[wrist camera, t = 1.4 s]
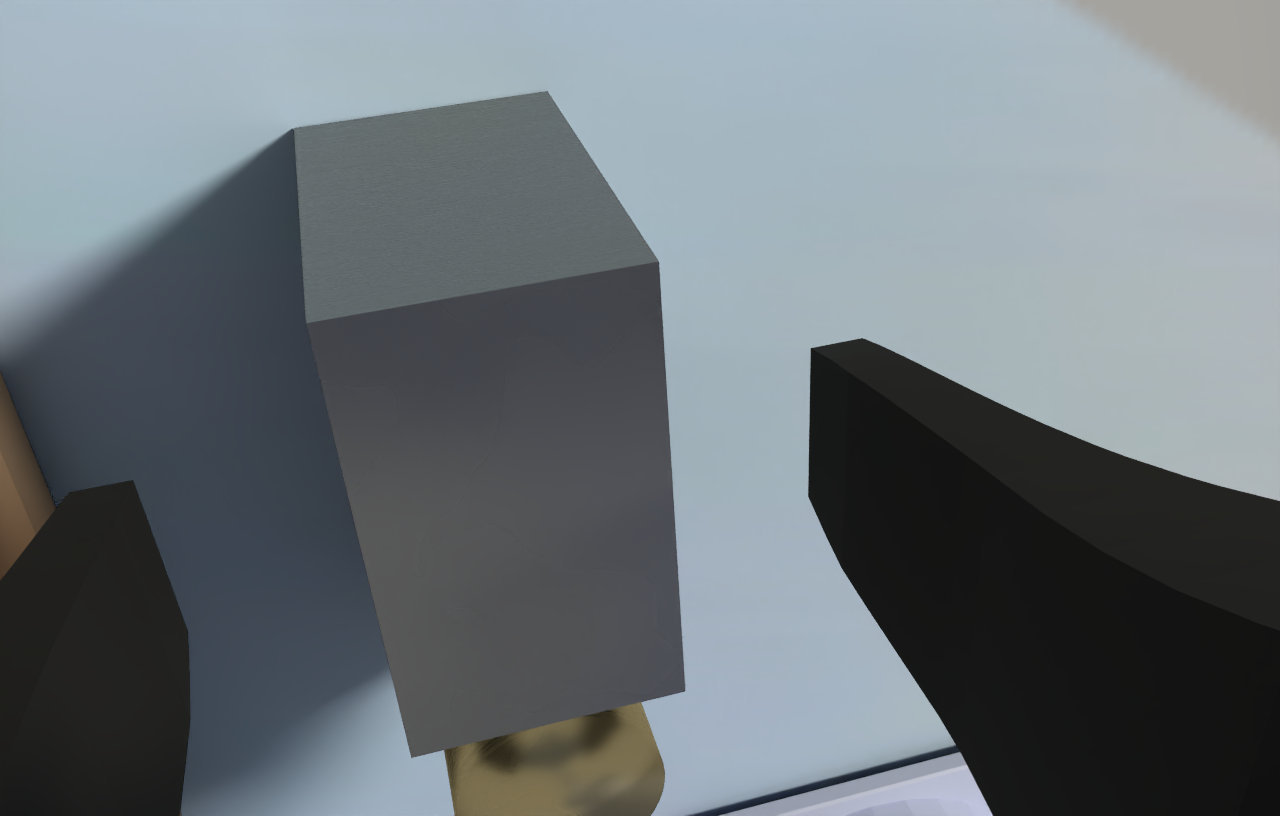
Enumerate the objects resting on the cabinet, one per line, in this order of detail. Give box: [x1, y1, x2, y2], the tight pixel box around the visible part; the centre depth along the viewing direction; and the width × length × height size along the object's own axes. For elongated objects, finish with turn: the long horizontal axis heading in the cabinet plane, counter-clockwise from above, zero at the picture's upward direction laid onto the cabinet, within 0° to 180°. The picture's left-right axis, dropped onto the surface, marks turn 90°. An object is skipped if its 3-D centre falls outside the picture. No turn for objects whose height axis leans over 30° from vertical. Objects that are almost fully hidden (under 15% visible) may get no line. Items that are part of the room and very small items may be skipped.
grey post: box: [294, 91, 685, 816], centre depth 14 cm, size 8×3×5 cm, turn 4°
